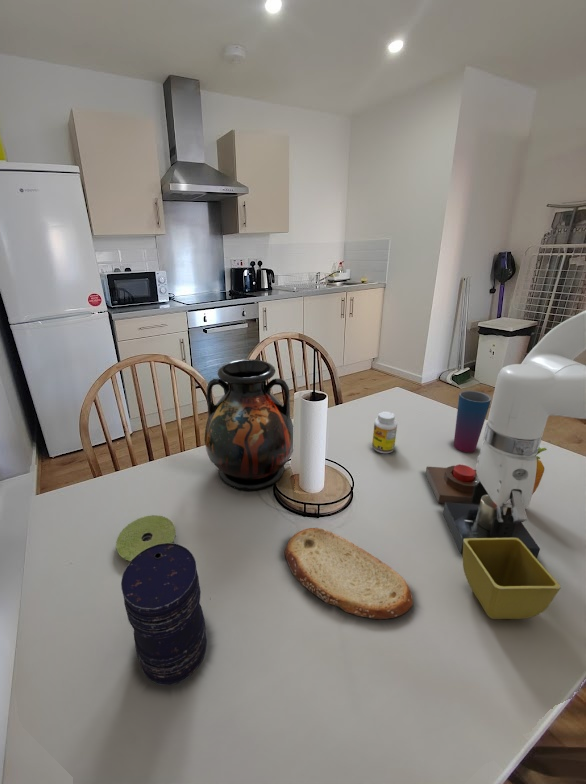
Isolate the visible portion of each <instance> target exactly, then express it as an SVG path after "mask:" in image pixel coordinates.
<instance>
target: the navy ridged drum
mask: <svg viewBox="0 0 586 784" xmlns="http://www.w3.org/2000/svg"><path fill="white" fill-rule="evenodd" d="M120 582H121V583H120V588H121V592H122V593H121V594H122V596H123V603H124V607H125V611H126V616H127V620H128V621H129V624H130V626H131V627H132V629H133V641H134V648H135V650H136V656H137V658H138V661H139V664H140V667H141V670H142V672H143V674H144V675H145V676H146V678H147V679H148V680H150V681H151V682H152V683H154V684H156V685H160V686H173V685H177V684H179V683H181V682H183V681H185V680H186V679H188V678H190V676H192V675H193V674H194V673H195V671H197V669H199V666H200V665H201V663H202V661H203V660H204V657H205V655H206V654H205V653H206V650H207V643H208V642H207V633H206V630H207V628H206V620H205V616H204V611H203V608H202V606H201V593H202V592H201V586H200V585H201V584H200V577H199V573H198V569H197V561H196V558H195V556H194V554H193V553H192V552H191V551H190V549H188V548H187V547H185V546H183V545H181V544H178V543H173V542H172V543H163V544H158V545H154V546H151V547H149V548H147V549H145V550H144V551H142V552H140V553H139V554H138V555H136V556H135V557H134V558H133V559H132V560H131V561H129V562H128V563H127V566H126V567H125V569H124V571H123V573H122V576H121V581H120Z"/></svg>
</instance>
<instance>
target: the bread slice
mask: <svg viewBox="0 0 586 784" xmlns="http://www.w3.org/2000/svg"><path fill="white" fill-rule="evenodd" d="M284 557H285V558H286V560H287V563H288V566H289V568H290V571H291V573H292V574H293V576H295V578H296V579H297V580H298V582H299V583H300V584H301V585H302V586H303V587H305V588H306V589H307V590H308V591H309V592H310V593H312V594H314V595H315V597H317V598H318V599H321V600H322V601H324V603H326V604H329V605H333V606H335V607H338V608H340V609H341V610H343V611H344V612H346V613H348V614H351V615H354V616H358V617H363V618H369V619H374V620H381V619H382V620H383V619H384V620H387V619H395V618H397V617H399V616H402V615H404V614H406V613H407V612H408V611H409V610H410V608H412V607H413V604H414V599H413V594H412V592H411V590H410V587H409V584H407V582H406V580H405V579H404V577H402V576H401V575H400V574H399V573H397V571H395V570H394V569H392V567H390V566H389V565H388V564H386V563H383V562H382V560H380V559H379V558H378V557H375V556H373V555H372V554H371V553H369V552H367V551H366V550H364V549H363V548H361V547H360V546H359V545H355V543H353V542H350V541H349V540H347V539H346V538H343V537H342V536H340V535H338V534H335V533H333V532H332V531H329V530H325V529H324V528H318V527H308V528H305V529H303V530H300V531H298V532H296V533H295V534H294V535H293V536H292V537H291V538H289V540H288V542H287V544H286V547H285V550H284Z"/></svg>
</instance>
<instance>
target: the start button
mask: <svg viewBox="0 0 586 784" xmlns="http://www.w3.org/2000/svg"><path fill="white" fill-rule="evenodd" d="M454 466H455V467H454V470H453V476H454V477H455V478H456V479H458V480H460V481H463V482H472V481H474V477H475V471H474V470H475V469H473V468H472V467H470V466H468V465H465V464H456V465H454Z"/></svg>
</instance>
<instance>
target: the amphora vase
mask: <svg viewBox="0 0 586 784" xmlns="http://www.w3.org/2000/svg"><path fill="white" fill-rule="evenodd" d="M216 374H217V377H218V378H215V377H214V378H213V379H211V380H210V381H209V382H208V383H207V386H206V405H207V414H208V415H207V416H208V417H207V421H206V424H205V428H204V429H205V430H204V445H205V446H204V447H205V451H206V454H207V457H208V458H209V460H210V461H211V463H212V464H213V465H214V466H215V468H217V469H218V470H217V472H218V476H219V479H220V480H221V481H222V483H223V484H224V485H226V486H228V487H230V488H231V489H233V490H236V491H239V492H244V493H245V492H246V493H251V492H253V493H254V492H255V493H256V492H260V491H264V490H268V489H269V488H272V487H273V486H275V485H276V484H278V483H279V482H280V481H281V479H282V478H283V477H284V473H285V469H286V468H285V465H286V464H287V462H289V460H290V459H291V457H292V455H293V452H294V449H293V427H294V424H293V420H292V418H291V395H290V394H291V393H290V388H289V385H288V383H287V381H285V380H284V379H282V378H280V377H279V378H277V377H276V378H273V377H274V376H275V374H276V367H275V366H274V365H273V364H271V363H270V362H268V361H265V360H261V359H252V358H251V359H238V360H237V359H236V360H232V361H229V362H226V363H224V364H223V365H221V366H220V367H219V368H218V369H217V373H216ZM272 378H273V379H272ZM270 379H271V380H270ZM268 380H270V381H269V382H268ZM217 385H218V386H220V387H221V388H222V389H223V392H224V394H223V395H222V396H221V397H220V399H219V400H218V401H217V402H216V404H215V403H214V398H213V387H214V386H217ZM274 386H280V387H281V388H282V390H283V394H284V404H283V402H281V400H280V399H279V398H278V397H277V396H275V394H274V393H272V391H271V390H272V388H273V387H274ZM275 483H276V484H275ZM274 484H275V485H274Z"/></svg>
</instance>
